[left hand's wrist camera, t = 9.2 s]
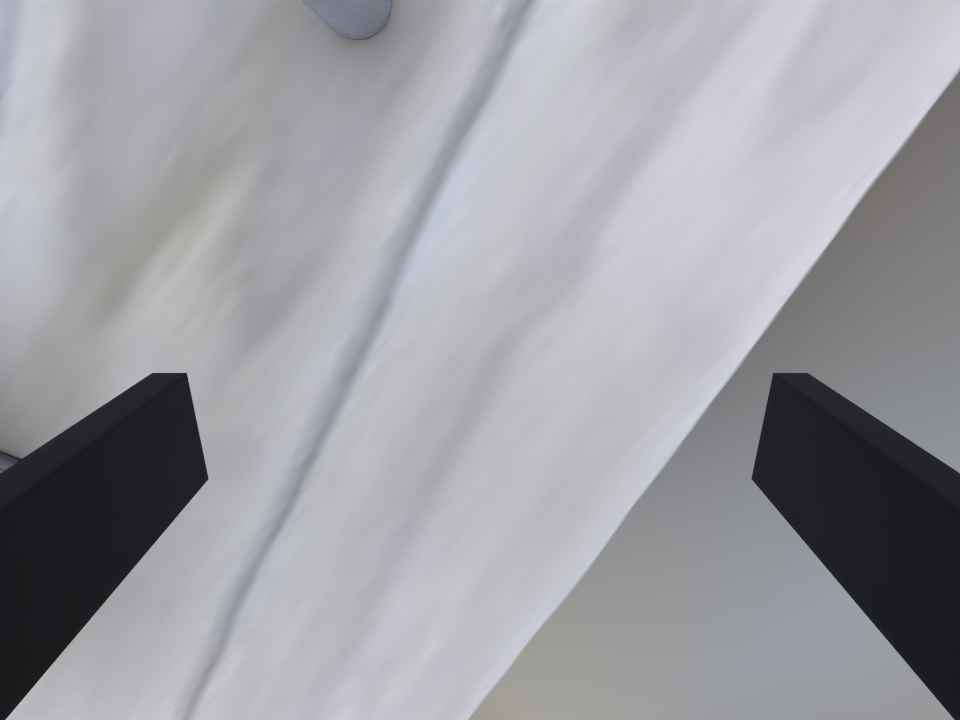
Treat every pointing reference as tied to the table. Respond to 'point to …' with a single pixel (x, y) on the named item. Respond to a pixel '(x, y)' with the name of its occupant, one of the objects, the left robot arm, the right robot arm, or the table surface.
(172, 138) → the table surface
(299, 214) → the table surface
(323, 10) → the bottle
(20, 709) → the table surface
